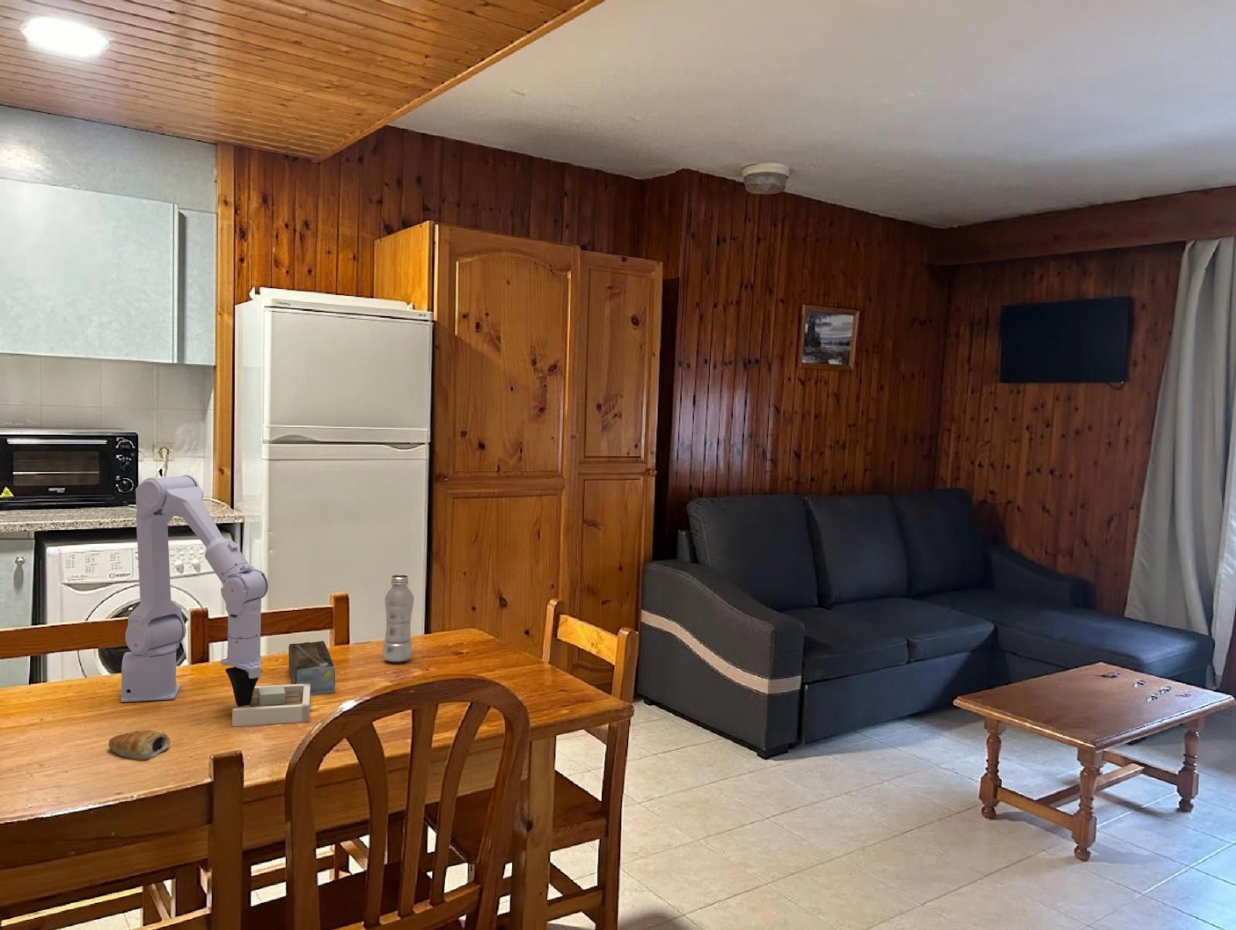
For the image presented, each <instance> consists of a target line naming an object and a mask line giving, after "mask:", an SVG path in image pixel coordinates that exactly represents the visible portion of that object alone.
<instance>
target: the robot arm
mask: <svg viewBox="0 0 1236 930" xmlns="http://www.w3.org/2000/svg"><path fill="white" fill-rule="evenodd" d="M203 498H204V490H203V488H202V487H201V486H200V485H199V482H198V481H197V479H196V478H195V477H194V476H192V475H189V474H184V475H181V476H179V475H178V476H166V477H148V478H145V479H143V481H142V482H141V483H139V485H138V486H137V487H136V488H135V505H136V514H135V515H136V516H135V521H136V522H135V523H136V541H137V545H136V546H137V565H138V582H139V584H138V586H139V587H138V588H139V602H140V603H139V604H138V605H137V606H136V608H134V610H132V612H131V613H130V614H129V615H128V616H127V628H126V630H125V634H124V635H125V636H124V637H125V644H126V646H127V647H128V649H129V651H127V652H124V654H123V657H122V661H121V681H120V682H121V689H120V691H121V696H120V697H121V698H120V702H121V703H129V702H133V703H134V702H149V701H166V700H167V701H169V700H174V699H176V697H177V695H178V693H179V691H180V689H181V684H177V649H179V648H180V643H182V642H183V640H184V639H185V637H186V633H187V627H186V623H185V621H184V618H183V614H182V613H183V612H182V608H181V607H180V606H179V605H178V604H176V603H175V602H173V601H172V593H171V592H172V591H171V571H170V570H171V569H170V551H169V549H170V548H169V531H168V530H169V529H168V524H169V522H170V521H171V520H172V519H174V517H178V518H182V519H183V520H184V521H185V523H186V524H187V525H188V526H189V528H191V530H192V532H193V533H194V534H195V535H196V537H197V538H198V539H199V540H200V541H201V542H202V544H203V545H204V546H205V551H204V552H205V553H204V558H205V560H206V561H207V563H208V565H209V566H210V567H211V568H212V570H213V572H214V573H215V575H216V576H217V577H218V579H219V580H220V582H221V584H222V587H220V594H221V596H222V598H223V601H224V603H225V610H226V612H227V649H226V650H227V651H226V652H227V653H226V654H227V655H226V658H224V659H223V658H222V659H220V664H221V665H222V666H230V667H227V668H225V673H226V674H227V676H228V678H229V681H230V684H231V687H232V690H233V691H232V692H233V696H234V701H235V704H236V706H237V708H244V707H247V706H250V702H251V699H252V695H253V691H254V688H255V686H257V682H258V680H259V679H260V678H261V677H262V675H263V674H262V673H263V670H262V666H261V663H262V655H261V630H262V629H261V627H262V626H261V625H262V624H261V622H262V618H261V617H262V599H263V598H264V597H266V595H267V593H268V591H269V582H268V578H267V576H266V574H265V573H264V572H263V570H262V569H261V570H260V569H258V568H256V567H254V565H250V563H249V562H248V561H247V559H246V558H245V556H244V555H243V553H242V552H241V550H240V549H239V546H238V544H237V543H236V542H235V541H234V540H232V539H231V538H230V539H229V538H225V537H224V536H223V535H222V533H221V532H220V530H219V528H218V526H217V524H216V522H215V521H214V519H213V517H212V515H211V514H210V512H209V510H208V508H207V507H206V505H205V503H204V501H203Z"/></svg>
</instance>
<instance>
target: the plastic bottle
mask: <svg viewBox="0 0 1236 930" xmlns="http://www.w3.org/2000/svg"><path fill="white" fill-rule="evenodd" d="M390 584H391V587H390V589H389V590H388V591H387V593H386V594H385V597H384V607H385V613H386V614H385V615H386V618H385V620H386V624H385V625H386V629H385V635H384V642H383V647H382V656H383V658H384V660H385V661H387V662H390V663H402V662H406V661H409V660H410V658H411V657H412V655H413V654H412V653H413V644H412V638H411V637H412V635H411V634H412V633H411V624H412V623H411V622H412V613H413V608H414V601H415V598H414V594H413V592H412V591H411V590H410V588H409V587H408V585H409V575H406V574H393V575H391V581H390Z"/></svg>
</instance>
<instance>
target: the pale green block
mask: <svg viewBox="0 0 1236 930" xmlns="http://www.w3.org/2000/svg"><path fill="white" fill-rule="evenodd" d="M258 699H259V704H260V705H271V704H282V703H285V690H284V686H274V687H262V688H259V692H258Z"/></svg>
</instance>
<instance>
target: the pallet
mask: <svg viewBox="0 0 1236 930" xmlns="http://www.w3.org/2000/svg"><path fill="white" fill-rule="evenodd" d="M300 701H301V700H300V694H299V692H285V703H282V704H271V705H260V704H259V699H258V694H253V695H252V699H251V702H250V705H249V707H264V706H281V705H298V704H301V702H300Z"/></svg>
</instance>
